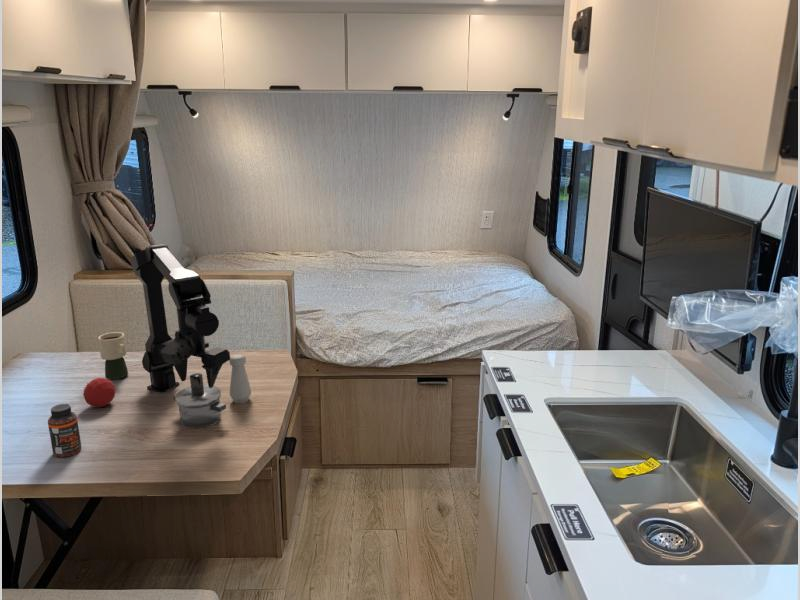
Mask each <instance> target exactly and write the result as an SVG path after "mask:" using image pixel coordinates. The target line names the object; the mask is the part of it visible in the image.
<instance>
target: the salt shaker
mask: <svg viewBox="0 0 800 600" xmlns="http://www.w3.org/2000/svg"><path fill="white" fill-rule="evenodd" d="M228 362H229V365H230V366H231V376H230V384H229V397H230V399H231V400H232V401H233V402H234V404H244V403H247V402H248V401H249V399H250V397H251V395H252V389H251V385H250V381H249V378H248V374H247V371H246V366H245V365H246V363H247V358H246V356H245V355H244V354H240V353H237V354H233V355H230V360H229V361H228Z"/></svg>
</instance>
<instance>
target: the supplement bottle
mask: <svg viewBox="0 0 800 600" xmlns="http://www.w3.org/2000/svg"><path fill="white" fill-rule="evenodd" d="M71 407H72V406H71V405H70V404H69V403H60V404H57V405H54V406H52V407H51V408H50V414H51V416H50V417H48V419H47V426H48V432H49V433H48V434H49V438H50V443H51V449H52V454H53V455H54V456H56V457H58V458H68V457H71V456H73V454H74V455H76V454H77V453H79V452H80V451H81V449H82V441H81V435H80V428H79V422H78V416H77V414H76V413H75V412H73V411H72V408H71Z"/></svg>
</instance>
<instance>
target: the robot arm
mask: <svg viewBox="0 0 800 600" xmlns="http://www.w3.org/2000/svg"><path fill="white" fill-rule="evenodd" d="M169 249H170V248H169V245H167V244H164V243H160V244H154V245H153V244H152V245H148V246H147V247H145V248H144V249H142V250H140V251H137V252H135V253H134V254H133V256H132V257H131V259H130V264H131V265H130V266H131V268H132V270H133V271H134V272H133V273H134V275H135V277H136V278H137V279H138V280H139V282H141V284H142V286H143V287H142V288H143V295H144V302H145V309H146V317H147V323H148V329H149V335H148V338H147V340H146V341H145V346H144V347H145V352H144V355H143V357H142V360H141V364H142V368H143V369H144V370H145V371H146V372H147V373H149V378H150V385H148V386H146V389H148V390H151V391H155V392H159V393H165V392H168V391H169V390H171V389H174V388H176V387H178V386H179V385H180V383H181V382H186V380H187V375H188V360H189V358H190V357H191V356H192V357H196V358H200V360H201V361H200V362H201V363H202V365H201V368H203V369H204V370H205V373H206V381H207V385H208V386H209V388H212V387H213V386H215V383H216V380H217V378H218V375H219V372H220V370H221V368H222V366H223V365H224V364H226V363H227V362H229V360H230V357H231V355H230V354H231V353H230V351H229V350H228V349H226V348H221V347H217V346H215V347H214V348H212V349H209V350H206V349H207V348H209V347H210V343H209V342H206V338H205V337H209V336H211V335H213V334H215V332H216V331H217V330H218V328H219V326H220V325H219V324H220V320H219V318H218V316H217V315H216V314H215V313H213V312H211V311H210V307H209V306H207V305H210V304H212V300H211V296H212V295H211V293H210V292H209V291H210V290H209V289H208V287H207V285H206V283H205V281H204V279H203V278H202V277H201V276H200V275H199V274H198V273H196V272H195V271H194V270H192V269H187V268H185V267H184V266H183V265H182V264H181V262H180V261H178V260H177V258H176V257H175V256H174V255H173V253H172V252H171V251H170V250H169ZM164 278H165V280H166V281H168V287H167V288H168V292H169V295H170V297H171V299H172V302H173V303H174V305H175V306H176V316H177V323H178V325H177V326H178V330H176V331H175V333H174V338H172V337H171V335H170V334H169V332H168V324H167V317H166V316H167V315H166V309H165V302H164V296H163V295H164V293H163V287H162V283H163V280H164ZM174 369H175V371H176V372H175V371H174ZM176 373H177V375H178V377H179V379H180V380H181V382H179V381H176Z"/></svg>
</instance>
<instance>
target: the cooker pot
mask: <svg viewBox="0 0 800 600" xmlns="http://www.w3.org/2000/svg"><path fill="white" fill-rule="evenodd" d="M177 393H178V392H177ZM177 393H175V394H173V395H172V398H173V400H174V401H176V400H175V395H176V394H177ZM220 400H221V398H219V399H218V400H217V401H215V402H213V403H211V404H208V405H205V406H200V407H183V406H180V405H178V412H179V420H180V424H181V425H182V427H184V428H189V429H201V427H202V428H206V426H207V427H210V426H213V425H215V424H216V423H218V422H219V421H220V420H221V419H220V418H222V412H223V411H224V410H227V404H226V403H223V402H221V401H220ZM217 421H218V422H217ZM214 423H215V424H214ZM212 424H213V425H212ZM209 425H210V426H209Z"/></svg>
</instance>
